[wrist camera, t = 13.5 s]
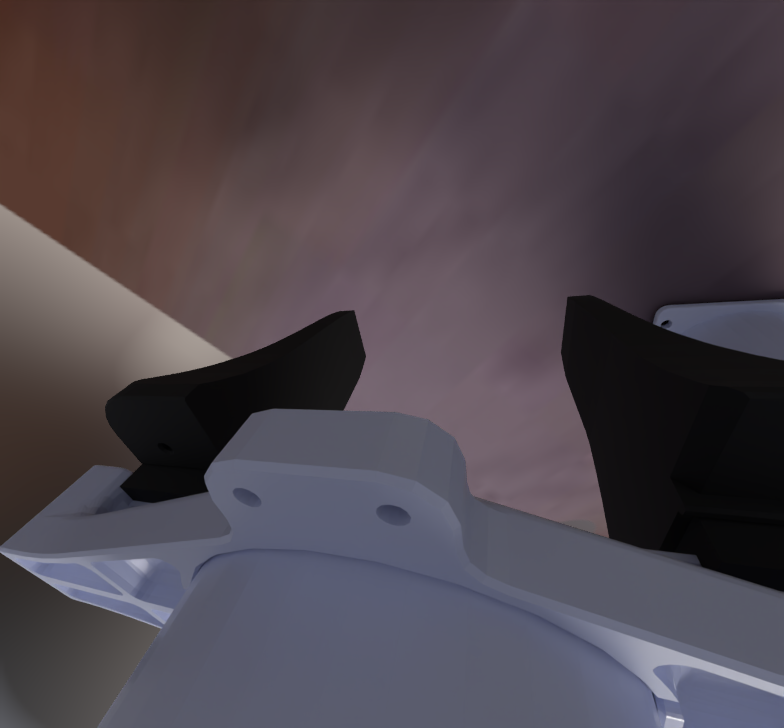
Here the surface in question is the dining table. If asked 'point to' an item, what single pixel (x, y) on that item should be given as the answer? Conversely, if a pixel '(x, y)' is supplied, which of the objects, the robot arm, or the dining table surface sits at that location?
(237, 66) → the dining table surface
